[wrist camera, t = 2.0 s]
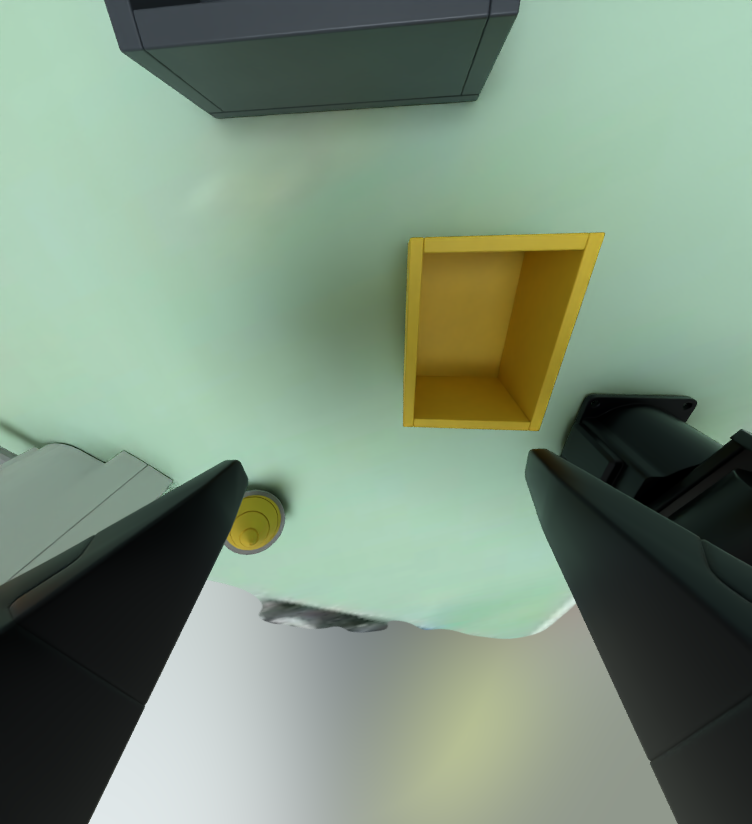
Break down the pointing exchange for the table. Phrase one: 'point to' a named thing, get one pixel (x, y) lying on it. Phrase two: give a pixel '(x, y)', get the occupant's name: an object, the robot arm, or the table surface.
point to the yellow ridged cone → (256, 523)
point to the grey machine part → (65, 501)
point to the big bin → (314, 51)
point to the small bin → (490, 326)
